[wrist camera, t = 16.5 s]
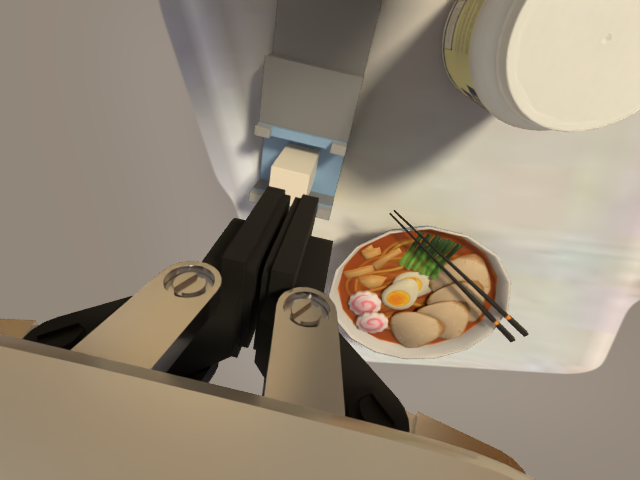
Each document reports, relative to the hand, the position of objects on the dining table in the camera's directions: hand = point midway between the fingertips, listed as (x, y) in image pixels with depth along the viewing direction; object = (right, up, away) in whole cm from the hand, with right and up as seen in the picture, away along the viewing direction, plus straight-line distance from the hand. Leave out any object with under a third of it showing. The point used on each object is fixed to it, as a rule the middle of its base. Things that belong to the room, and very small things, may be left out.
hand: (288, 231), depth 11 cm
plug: (-1, +9, +30) cm, 31 cm away
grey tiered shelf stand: (0, +16, +27) cm, 31 cm away
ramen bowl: (+15, -4, +38) cm, 41 cm away
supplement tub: (+19, +20, +22) cm, 35 cm away
